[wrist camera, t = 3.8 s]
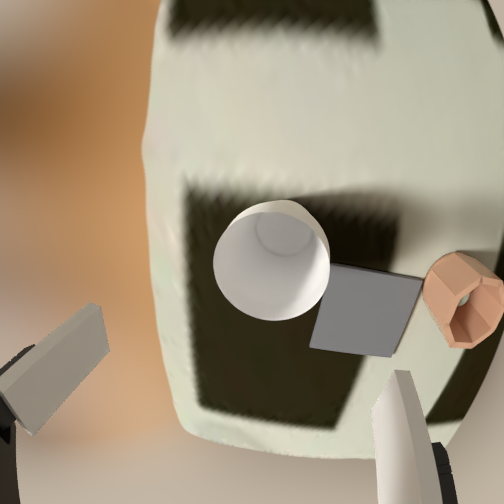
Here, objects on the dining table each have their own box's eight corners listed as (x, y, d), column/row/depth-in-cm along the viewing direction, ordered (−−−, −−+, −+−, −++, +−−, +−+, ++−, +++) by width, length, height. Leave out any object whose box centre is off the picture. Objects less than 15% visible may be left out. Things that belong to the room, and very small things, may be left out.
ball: (448, 274, 28) (459, 285, 25) (466, 277, 28) (477, 288, 25) (440, 297, 29) (449, 309, 26) (457, 299, 29) (467, 312, 26)
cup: (339, 239, 31) (354, 286, 20) (275, 279, 34) (257, 338, 23) (293, 172, 29) (284, 183, 18) (229, 218, 32) (188, 253, 21)
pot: (434, 246, 28) (464, 272, 21) (483, 258, 27) (515, 283, 20) (413, 309, 32) (432, 346, 24) (461, 315, 30) (484, 348, 23)
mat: (331, 262, 32) (331, 265, 31) (420, 278, 30) (422, 281, 29) (309, 343, 36) (309, 347, 35) (389, 354, 34) (390, 357, 34)
